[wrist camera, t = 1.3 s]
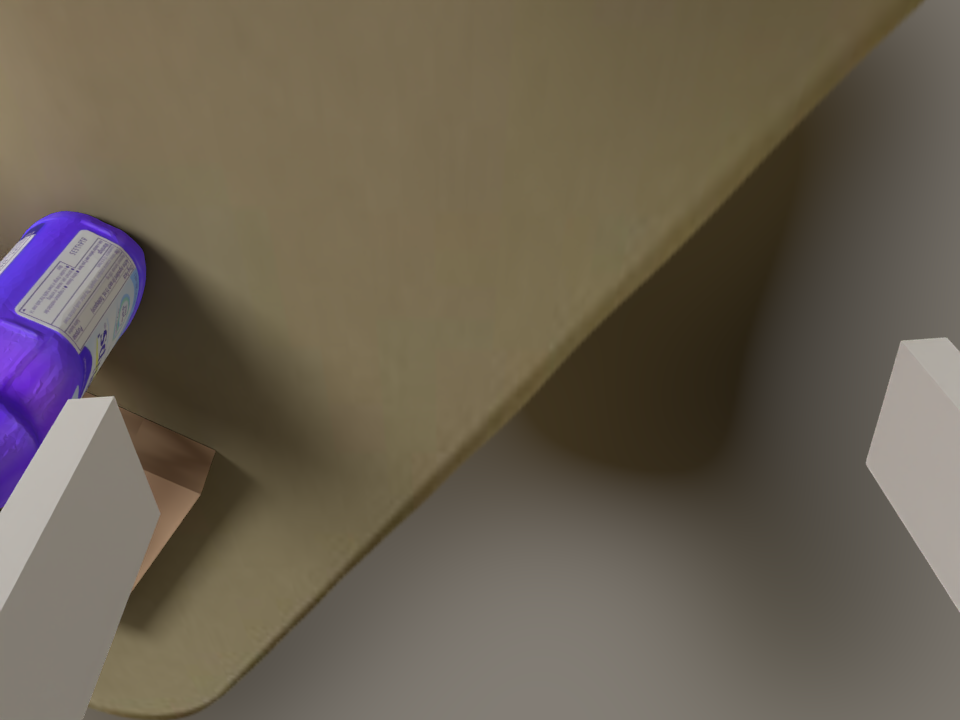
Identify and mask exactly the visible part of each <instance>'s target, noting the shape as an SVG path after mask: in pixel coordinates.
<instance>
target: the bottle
mask: <svg viewBox="0 0 960 720" xmlns="http://www.w3.org/2000/svg"><path fill="white" fill-rule="evenodd" d="M145 281H146V263H145V257H144V252H143V250H142V248H141V247H140V246H139V245H138V244H137V243H136V242H135V241H134V240H133V239H132V238H131V237H129V236H128V235H127V234H126V233H125V232H124V231H122V230H120V229H118V228H115V227H113V226H111V225H109V224H106V223H104V222H102V221H101V220H99V219H97V218H94V217H92V216H90V215H87V214H83V213H79V212H71V211H61V212H56V213H53V214H50V215H48V216H45V217H43V218H42V219H40V220H39V221H37V222H36V223H34V224H33V225H32V226H31V227H30V228H29V229H28V230H27V231H26V232H25V233H24V235H23V236H22V238H21V239H20V241H19V242H18V243H17V244H16V245H15V246H14V247H13V248H12V249H11V251H10V252H9V253H8V254H7V255H6V256H5V257H4V258H3V260H2V261H1V262H0V508H2V507H4V505H5V504H6V502H7V500H8V499H9V497H10V495H11V494H12V492H13V490H14V489H15V487H16V485H17V484H18V482H19V480H20V479H21V477H22V475H23V474H24V472H25V470H26V469H27V467H28V465H29V464H30V462H31V460H32V459H33V457H34V455H35V454H36V452H37V450H38V449H39V447H40V445H41V444H42V442H43V440H44V439H45V437H46V435H47V434H48V432H49V430H50V429H51V427H52V425H53V424H54V422H55V420H56V419H57V417H58V415H59V414H60V412H61V410H62V409H63V407H64V405H65V404H66V402H67V400H68V399H80V398H82V397H83V395H84V393H85V392H86V390H87V389H88V387H89V385H90V384H91V382H92V380H93V379H94V377H95V375H96V374H97V372H98V370H99V369H100V367H101V366H102V364H103V362H104V361H105V359H106V358H107V356H108V354H109V353H110V351H111V350H112V348H113V347H114V345H115V344H116V342H117V341H118V339H119V338H120V337H121V336H122V334H123V333H124V332H125V331H126V329H127V328H128V326H129V325H130V323H131V321H132V320H133V318H134V316H135V314H136V312H137V309H138V307H139V304H140V302H141V299H142V295H143V292H144V287H145Z"/></svg>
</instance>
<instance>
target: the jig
mask: <svg viewBox="0 0 960 720" xmlns="http://www.w3.org/2000/svg"><path fill="white" fill-rule="evenodd" d="M94 397H97V396H94V395H92V394H90V393H88V392H85V393H84V395H83V397H82V398H94ZM119 410H120V412H121V415H122V417H123V420H124V422H125V425H126V427H127V430H128V432H129V435H130V438H131V440H132V443H133V445H134V448H135V450H136V453H137V455H138V458H139V460H140V463H141V465H142V468H143V471H144V473H145V476H146V478H147V481H148V483H149V486H150V488H151V491H152V493H153V496H154V498H155V501H156V504H157V506H158V509H159V511H160V516H159V519H158V522H157V524H156V527H155V530H154V532H153V535H152V538H151V540H150V543H149V545H148V548H147V551H146V553H145V556H144V559H143V561H142V564H141V567H140V569H139V572H138V574H137V577H136V580H135V582H134V585H133V588H132V590H131V592H132V591H133V589H134V588H135V586H136V585H137V583H138V582H139V581H140V579H141V578H142V576H143V575H144V574H145V572H146V571H147V569H148V568H149V567H150V565H151V564H152V562H153V561H154V560H155V558H156V557H157V555H158V554H159V553H160V551H161V550H162V548H163V547H164V546H165V544H166V543H167V541H168V540H169V538H170V537H171V536H172V534H173V533H174V531H175V530H176V529H177V527H178V526H179V524H180V523H181V522H182V520H183V519H184V517H185V516H186V515H187V513H188V512H189V510H190V509H191V508H192V506H193V505H194V503H195V502H196V500H197V499H198V498H199V496H200V495H201V492H202V489H203V487H204V484H205V481H206V478H207V475H208V472H209V469H210V466H211V463H212V460H213V457H214V454H215V450H213V449H211V448H208V447H206V446H204V445H202V444H200V443H197V442H195V441H193V440H191V439H189V438H187V437H184V436H182V435H180V434H178V433H176V432H173V431H171V430H169V429H167V428H165V427H162V426H160V425H158V424H156V423H154V422H151V421H149V420H147V419H145V418H143V417H140V416H138V415H136V414H134V413H132V412H129V411H127V410H125V409H123V408H121V407H119Z"/></svg>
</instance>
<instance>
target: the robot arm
mask: <svg viewBox="0 0 960 720" xmlns="http://www.w3.org/2000/svg"><path fill="white" fill-rule="evenodd" d="M866 465H867V467H868V469H869V470H870V472H871V473H872V475H873V476H874V478H875V479H876V481H877V483H878V484H879V486H880V487H881V489H882V491H883V492H884V494H885V495H886V497H887V498H888V500H889V502H890V503H891V505H892V506H893V508H894V509H895V511H896V513H897V514H898V516H899V518H900V519H901V521H902V522H903V524H904V525H905V527H906V529H907V530H908V531H909V533H910V535H911V536H912V538H913V540H914V541H915V543H916V544H917V546H918V547H919V549H920V551H921V552H922V554H923V555H924V557H925V558H926V560H927V562H928V563H929V565H930V566H931V568H932V570H933V571H934V573H935V574H936V576H937V578H938V579H939V581H940V582H941V584H942V586H943V587H944V589H945V590H946V592H947V593H948V595H949V597H950V598H951V600H952V601H953V603H954V604H955V606H956V608H957V609H958V611H959V612H960V351H959V350H958V349H957V348H956V347H955V346H954V345H953V344H952V343H951V342H950V340H949V339H948V338H947V337H946V338H931V339H917V340H904V341H903V340H902V341H901V342H900V345H899V349H898V353H897V356H896V360H895V363H894V367H893V370H892V373H891V377H890V380H889V384H888V387H887V391H886V394H885V397H884V401H883V404H882V408H881V411H880V415H879V418H878V422H877V425H876V429H875V432H874V436H873V439H872V443H871V446H870V449H869V453H868V456H867V460H866ZM159 516H160V511H159V509H158V506H157V504H156V501H155V498H154V496H153V493H152V491H151V488H150V486H149V483H148V481H147V478H146V476H145V473H144V471H143V468H142V465H141V463H140V460H139V458H138V455H137V453H136V450H135V448H134V445H133V443H132V440H131V438H130V435H129V432H128V430H127V427H126V425H125V422H124V420H123V417H122V415H121V412H120V410H119V407H118V405H117V402H116V399H115V397H114V396H108V397H94V398H80V399H68V400H67V402H66V404H65V405H64V407H63V409H62V410H61V412H60V414H59V415H58V417H57V419H56V420H55V422H54V424H53V425H52V427H51V429H50V430H49V432H48V434H47V435H46V437H45V439H44V440H43V442H42V444H41V445H40V447H39V449H38V450H37V452H36V454H35V455H34V457H33V459H32V460H31V462H30V464H29V465H28V467H27V469H26V470H25V472H24V474H23V475H22V477H21V479H20V480H19V482H18V484H17V485H16V487H15V489H14V490H13V492H12V494H11V495H10V497H9V499H8V500H7V502H6V504H5V505H4V507H3V509H2V510H1V512H0V720H83V717H84V714H85V712H86V709H87V706H88V704H89V701H90V699H91V696H92V693H93V691H94V688H95V685H96V683H97V680H98V677H99V675H100V672H101V670H102V667H103V664H104V662H105V659H106V656H107V654H108V651H109V648H110V646H111V643H112V640H113V638H114V635H115V633H116V630H117V627H118V625H119V622H120V619H121V617H122V614H123V611H124V609H125V606H126V604H127V601H128V598H129V596H130V593H131V590H132V588H133V585H134V582H135V580H136V577H137V574H138V572H139V569H140V567H141V564H142V561H143V559H144V556H145V553H146V551H147V548H148V545H149V543H150V540H151V538H152V535H153V532H154V530H155V527H156V524H157V522H158V519H159Z"/></svg>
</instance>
